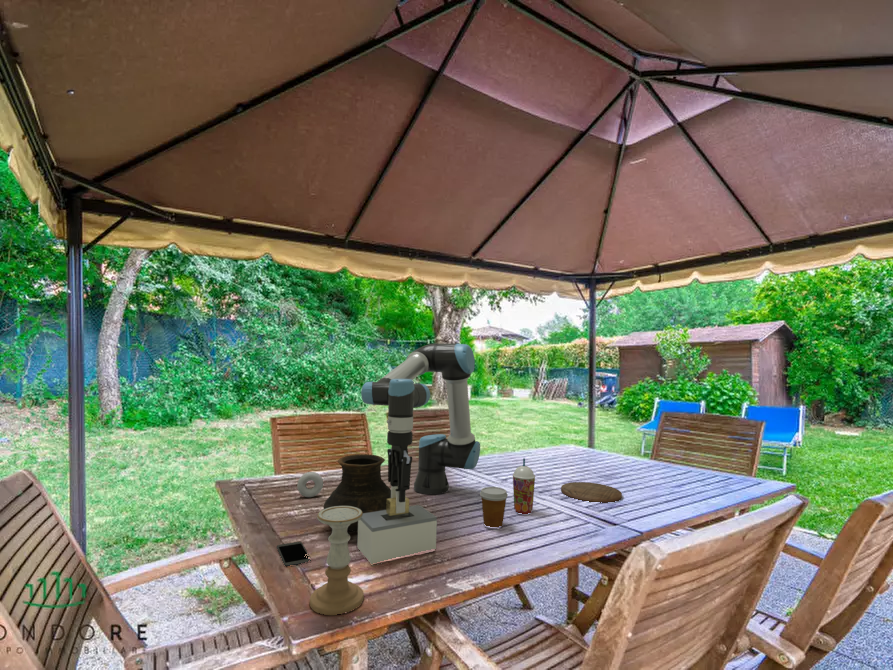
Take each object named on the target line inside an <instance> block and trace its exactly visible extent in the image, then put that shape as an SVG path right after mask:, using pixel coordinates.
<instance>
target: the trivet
mask: <svg viewBox="0 0 893 670" xmlns="http://www.w3.org/2000/svg"><path fill="white" fill-rule="evenodd" d="M560 491H561V494H563V496H565V495H566V497H567V496H568V497H567V498H569V497H570V499H572V498H574V499H573V500H575V499H578V500H577V501H579V500H582V501H581V502H584V501H589V502H588V503H591V502H600V503H599V504H609V503H608V502H614V503H616V502H615V501H618V502H620V501H621V500H622V497H623V493H622V491H620V490H619V489H617V488H615V487H613V486H610V485H606V484H602V483H597V482H596V483H595V482H588V481H587V482H586V481H574V482H567V483H563V484H562V485H561V486H560ZM619 500H620V501H619ZM601 502H602V503H601Z"/></svg>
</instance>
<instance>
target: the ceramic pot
mask: <svg viewBox="0 0 893 670" xmlns="http://www.w3.org/2000/svg"><path fill="white" fill-rule="evenodd" d="M385 461H386V458H384V457H382V456H380V455H376V454H370V453H369V454H368V453H367V454H366V453H362V454H356V453H355V454H351V455H350V454H349V455H345V456H342V457H341V458H339V459H338V461H337V463H338V464H339V465H340V466H341V471H342V472H341V479H340V480H341V481H340V483H339V484H337V487H336V488H335V489H334V490H333V491H332V492H331V493H330V495H329V496H328V498H327V499H326V500H325V502H324V503H323V509H326V508H329V507H334V506H352V507H356V508H359V509H361V510H362V512H363V513H369V512H376V511H382V510H386V502H387V499H389V498H391V487H389V486H388V485H387V484H386V483H385V481H384V480H383V479H382V473H381V470H382V469H381V468H382V467H381V466H382V464H384V463H385ZM347 531H349V532H354V533H358V521H357V522H354V523H351V524H350V525H349V526H348V528H347Z"/></svg>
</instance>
